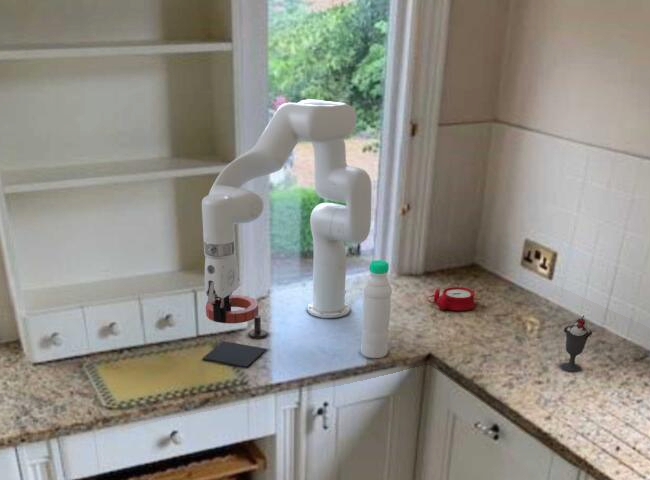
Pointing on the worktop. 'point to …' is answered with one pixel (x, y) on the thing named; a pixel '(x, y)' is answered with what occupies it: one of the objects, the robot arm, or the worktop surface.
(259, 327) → the peg stand
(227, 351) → the mat
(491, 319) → the worktop surface
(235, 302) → the ring
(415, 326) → the worktop surface
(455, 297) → the alarm clock
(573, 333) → the sundae
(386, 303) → the water bottle
